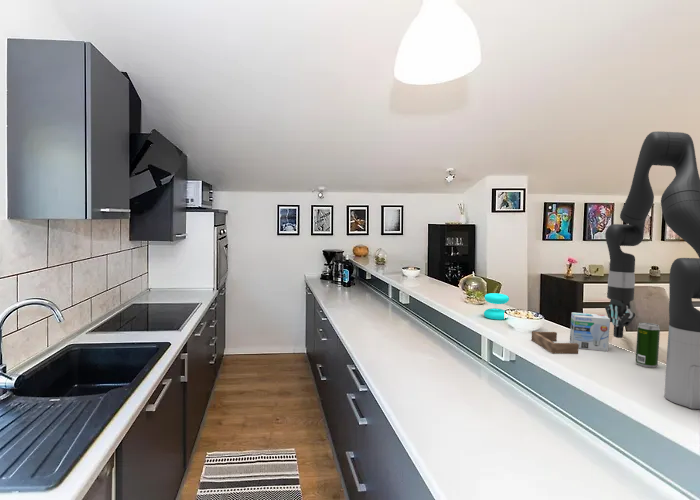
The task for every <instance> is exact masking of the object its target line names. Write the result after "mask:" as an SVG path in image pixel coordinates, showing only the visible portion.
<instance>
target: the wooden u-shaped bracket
mask: <svg viewBox="0 0 700 500" xmlns="http://www.w3.org/2000/svg"><path fill="white" fill-rule="evenodd" d="M557 337H558V332H556V331H531V338H530V339H531V341H532V342H533V343H535V344H537V345H538V346H540V347H541V348H542V349H543V348H544V349H545V350H547V351H548V352H550V353H551V354H561V355H562V354H563V355H565V354H573V355H574V354H575V355H578V354H579V349H580V348H579V344H577V343H570V342H557V339H558V338H557Z"/></svg>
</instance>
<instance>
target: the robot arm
mask: <svg viewBox="0 0 700 500" xmlns="http://www.w3.org/2000/svg"><path fill="white" fill-rule="evenodd" d="M694 144H695V143H694V141H693V139H692V137H691V135H690V134H689V133H686V132H679V131H678V132H677V131H662V130H661V131H652V132H650V133H649V134H647V135H646V137H645V139H644V140H643V143H642V145H641V147H640V151H639V153H638V158H637V162H636V165H635V168H634V169H635V170H634V173H633V176H632V181H631V182H632V183H631V185H630V189H629V191H628V192H629V193H628V195H627V198H626V199H625V202H624V205H623V206H622V208H621V211H620V214H619V215H620V216H619V217H620V220H621V221H622V223H623V224H622V223H621V224H620V223H619V224H618V223H614V224H610V225H609V226H608V227H607V228H606V230H605V234H604V235H605V236H604V237H605V242H606V245H607V249H608V254H609V273H608V276H607V292H606V293H607V295H606V297H607V299H609V300H610V301H609V305H605V306H604V309H605V312H606V316H607V317H608V318H610V323H611V324H612V326H613V337H615V338H617V339H622V338H623V337H624V327H629V325H630V324H631V323H632V321H634V318H635V317H636V312H632V311H631V308H632V307H631V302H633V301H634V300H635V289H636V288H635V286H636V277H635V273H636V272H635V271H636V270H635V269H636V257H635V255H634V254H632V253H627V252H624V251H623V250H622V248H621V247H625V246H626V247H636V246H639V245H640V244H641V243H642V242H643V240H644V235H645V234H644V233H645V225H646V219H647V217H648V215H649V213H650V212H651V210H652V208H653V205H654V200H655V196H654V191H653V187H652V185H651V182H650V176H649V174H650V171H651V168H652V166H662V167H672V168H674V171H675V176H674V178H673V179H672V181H671V182H670V183H669V184H668V185H667V187H666V188H665V190H664V191H663V193H662V195H661V197H660V205H661V209H662V216H663V219H664V221H665V224H666V225H667V227H669V229H670V230H672V232H674V234H676V235H677V236H678V237H679V238H680V239H682V240H684V242H686V243H687V244H688V245H689V246H691V248H692V249H693V250H694V251H695V253H696V254H697V256H698V258H697V257H696V258H695V257H678V258H676V259H674V261H672V263H671V266H670V269H669V281H668V282H669V283H668V284H669V295H668V296H669V299H668V301H669V302H668V315H669V317H668V321H669V322H668V336H667V348H666V351H667V352H666V362H665V363H666V364H665V375H664V376H665V379H664V398H665V399H667V401H670V402H671V403H675V404H677V405H680V406H683V407H687V408H689V409H692V410H695V409H696V410H698V409H699V410H700V310H699V309H698V308H696V307H694V305H693V300H694V299H698V300H700V174H699V169H698V162H697V157H696V150H695V145H694ZM624 223H625V224H624Z"/></svg>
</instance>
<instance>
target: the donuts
mask: <svg viewBox="0 0 700 500" xmlns="http://www.w3.org/2000/svg"><path fill="white" fill-rule="evenodd" d="M484 300H485V301H486V302H487V303H488V304H494V305H505V304H506V303H508V302H509V301H510V297H509V296H508V295H507V294H505V293H495V292H494V293H493V292H492V293H491V292H490V293H486V294H485V295H484ZM505 311H506V310H505V309H502V308H487V309H486V310H485V311H483V317H485V318H486V319H489V320H497V321H498V320H499V321H503V320H505V319H504V312H505Z"/></svg>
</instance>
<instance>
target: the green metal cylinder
mask: <svg viewBox="0 0 700 500" xmlns="http://www.w3.org/2000/svg"><path fill="white" fill-rule="evenodd" d="M636 330H637V331H636V346H635V347H636V348H635V363H636V365H637V366H639V367H644V368H650V369H653V368H657V366H658V363H659V352H660V351H659V350H660V349H659V348H660V338H661V337H660V336H661V329H660V325H659V324H656V323H652V322H638V325H637V329H636Z"/></svg>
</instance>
